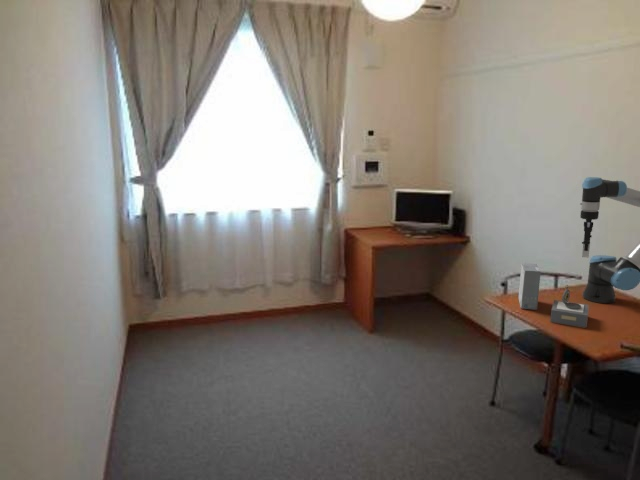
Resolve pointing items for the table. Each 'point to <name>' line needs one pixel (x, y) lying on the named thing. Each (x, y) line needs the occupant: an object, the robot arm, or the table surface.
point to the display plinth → (569, 314)
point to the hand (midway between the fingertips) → (585, 253)
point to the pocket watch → (566, 298)
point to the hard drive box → (529, 286)
